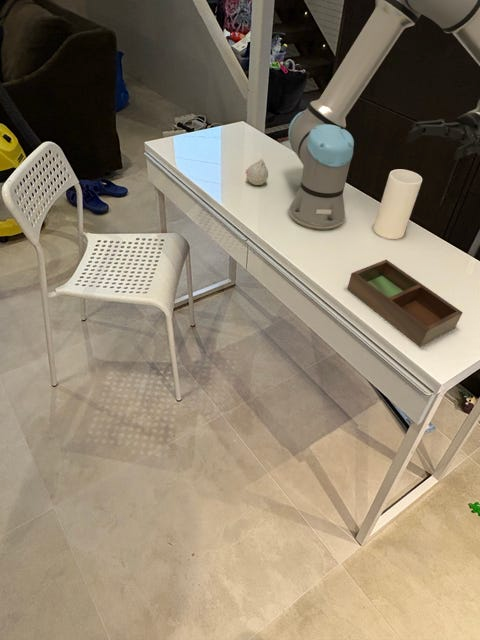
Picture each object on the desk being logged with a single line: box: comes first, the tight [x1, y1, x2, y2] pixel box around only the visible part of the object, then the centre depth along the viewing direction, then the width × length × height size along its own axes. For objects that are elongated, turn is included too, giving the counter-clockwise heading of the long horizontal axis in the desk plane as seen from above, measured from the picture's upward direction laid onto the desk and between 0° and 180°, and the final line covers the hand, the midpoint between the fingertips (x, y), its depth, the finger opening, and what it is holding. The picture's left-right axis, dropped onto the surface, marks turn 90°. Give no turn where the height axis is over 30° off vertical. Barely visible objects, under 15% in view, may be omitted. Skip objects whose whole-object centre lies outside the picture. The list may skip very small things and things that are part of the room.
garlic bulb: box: [244, 158, 269, 186], centre depth 147 cm, size 6×7×8 cm
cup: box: [373, 168, 423, 240], centre depth 129 cm, size 8×8×16 cm
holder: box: [347, 259, 464, 348], centre depth 108 cm, size 11×22×5 cm, turn 34°
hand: (431, 145), depth 125 cm, fingers open, 13 cm apart
